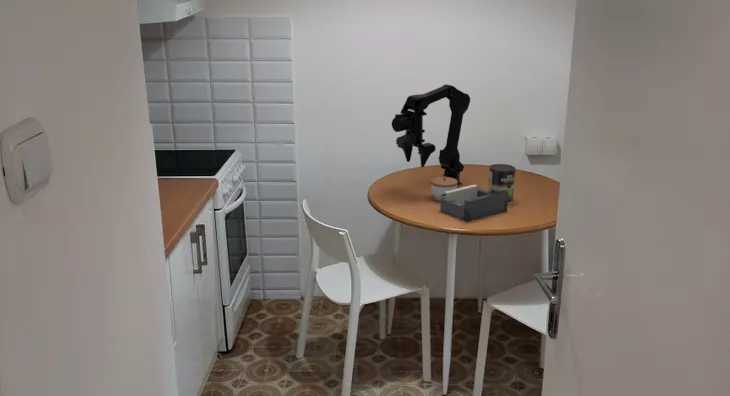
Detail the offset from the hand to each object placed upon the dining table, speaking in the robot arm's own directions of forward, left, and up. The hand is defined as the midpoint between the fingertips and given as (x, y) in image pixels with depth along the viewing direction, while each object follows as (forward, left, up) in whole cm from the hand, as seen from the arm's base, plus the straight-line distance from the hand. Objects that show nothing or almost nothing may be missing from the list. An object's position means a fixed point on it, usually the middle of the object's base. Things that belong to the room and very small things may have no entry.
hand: (415, 164), depth 290 cm
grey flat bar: (-4, +22, -12) cm, 25 cm away
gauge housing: (-6, +29, -13) cm, 32 cm away
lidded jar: (-6, +12, -13) cm, 18 cm away
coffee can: (-23, +27, -13) cm, 37 cm away
